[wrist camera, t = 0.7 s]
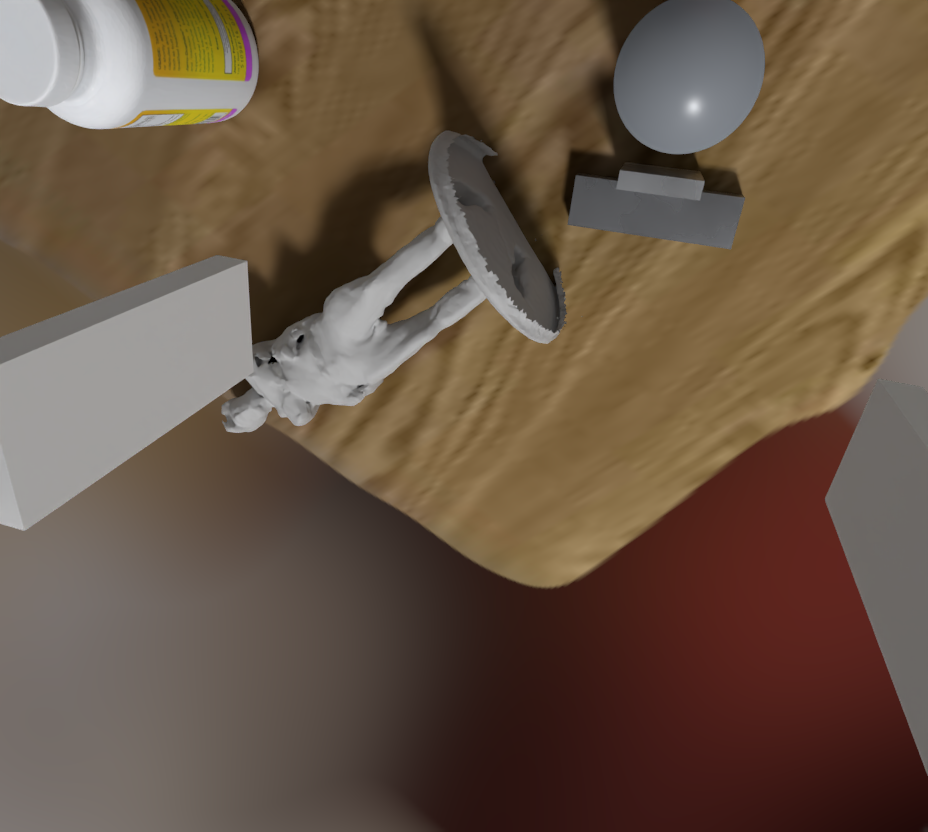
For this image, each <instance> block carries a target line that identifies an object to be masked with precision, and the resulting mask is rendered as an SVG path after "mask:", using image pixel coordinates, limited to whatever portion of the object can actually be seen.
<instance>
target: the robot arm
mask: <svg viewBox="0 0 928 832" xmlns="http://www.w3.org/2000/svg"><path fill="white" fill-rule="evenodd" d="M253 372H254V370H253V353H252V335H251V318H250V300H249V283H248V266H247V261H246V260H240V259H235V258H229V257H224V256H219V255H216V256H214V257H211V258H208V259H206V260H203V261H200V262H198V263H195V264H192V265H190V266H187V267H184V268H182V269H179V270H177V271H174V272H171V273H169V274H166V275H163V276H161V277H158V278H155V279H153V280H150V281H147V282H145V283H142V284H140V285H137V286H134V287H132V288H129V289H126V290H124V291H121V292H118V293H116V294H113V295H111V296H108V297H105V298H103V299H100V300H97V301H95V302H92V303H89V304H87V305H84V306H81V307H79V308H76V309H74V310H71V311H68V312H66V313H63V314H60V315H58V316H55V317H52V318H50V319H47V320H45V321H42V322H39V323H37V324H34V325H31V326H29V327H26V328H23V329H21V330H18V331H16V332H13V333H10V334H7V335H5V336H3V337H0V524H3V525H7V526H10V527H14V528H17V529H20V530H24V531H25V530H27V529H28V528H29V527H31V526H32V525H34V524H35V523H37V522H38V521H39V520H41V519H42V518H44V517H45V516H47V515H48V514H50V513H51V512H52V511H54V510H55V509H57V508H58V507H60V506H61V505H63V504H64V503H65V502H67V501H68V500H70V499H71V498H73V497H74V496H76V495H77V494H78V493H80V492H81V491H83V490H84V489H86V488H87V487H89V486H90V485H91V484H93V483H94V482H96V481H97V480H99V479H100V478H102V477H103V476H104V475H106V474H107V473H109V472H110V471H112V470H113V469H115V468H116V467H117V466H119V465H120V464H122V463H123V462H125V461H126V460H128V459H129V458H130V457H132V456H133V455H135V454H136V453H137V452H139V451H141V450H142V449H143V448H145V447H146V446H148V445H149V444H151V443H152V442H154V441H155V440H156V439H158V438H159V437H161V436H162V435H164V434H165V433H166V432H168V431H169V430H171V429H172V428H174V427H175V426H176V425H178V424H180V423H181V422H182V421H184V420H185V419H187V418H188V417H189V416H191V415H192V414H194V413H195V412H197V411H198V410H200V409H201V408H203V407H204V406H205V405H207V404H208V403H210V402H211V401H213V400H214V399H216V398H217V397H218V396H220V395H221V394H223V393H224V392H226V391H227V390H229V389H230V388H231V387H233V386H234V385H236V384H237V383H239V382H240V381H242V380H243V379H244V378H246V377H247V376H249V375H250V374H252V373H253ZM825 501H826V504H827V507H828V509H829V512H830V515H831V517H832V520H833V523H834V525H835V528H836V531H837V533H838V536H839V539H840V541H841V544H842V547H843V550H844V552H845V555H846V557H847V560H848V563H849V565H850V568H851V571H852V574H853V576H854V579H855V582H856V584H857V587H858V590H859V592H860V595H861V598H862V600H863V603H864V606H865V608H866V611H867V614H868V617H869V619H870V622H871V624H872V627H873V630H874V633H875V635H876V638H877V641H878V643H879V646H880V649H881V651H882V654H883V657H884V659H885V662H886V665H887V668H888V670H889V673H890V676H891V678H892V681H893V683H894V686H895V689H896V692H897V694H898V697H899V700H900V702H901V705H902V708H903V711H904V713H905V716H906V718H907V721H908V724H909V727H910V729H911V732H912V735H913V737H914V740H915V743H916V745H917V748H918V750H919V753H920V756H921V759H922V761H923V764H924V767H925V770H926V772H927V775H928V393H927V391H926V390H925V389H924V388H923V387H920V386H915V385H909V384H904V383H899V382H893V381H888V380H883V379H877V382H876V384H875V386H874V389H873V391H872V393H871V395H870V398H869V400H868V402H867V404H866V407H865V409H864V411H863V414H862V416H861V418H860V421H859V423H858V425H857V427H856V429H855V432H854V434H853V436H852V439H851V441H850V443H849V446H848V448H847V450H846V452H845V454H844V457H843V459H842V461H841V464H840V466H839V468H838V470H837V473H836V475H835V477H834V479H833V482H832V484H831V486H830V489H829V491H828V493H827V496H826V498H825Z"/></svg>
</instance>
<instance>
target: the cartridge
mask: <svg viewBox="0 0 928 832" xmlns="http://www.w3.org/2000/svg"><path fill="white" fill-rule="evenodd" d="M764 69H765V53H764V47H763V42H762V39H761V36H760V33H759V31H758V29H757V27H756V25H755V23H754V21H753V20H752V19H751V17H750V16H749V15H748V14H747V13H746V12H745V11H744V10H743V9H742V8H741V7H740V6H739V5H737V4H736V3H734V2H733V1H731V0H668V1H666V2H664V3H662V4H660V5H659V6H657V7H655V8H654V9H653V10H652V11H650V12H649V13H648V14H647V15H645V16H644V17H643V18H642V19H641V20H640V21H639V22H638V24H637V25H636V26H635V27H634V29H633V30H632V31H631V33H630V34H629V36H628V37H627V39H626V41H625V43H624V45H623V47H622V49H621V51H620V54H619V57H618V60H617V64H616V68H615V74H614V97H615V103H616V106H617V110H618V113H619V115H620V118H621V120H622V121H623V123H624V125H625V127H626V128H627V129H628V130H629V132H630V133H631V134H632V135H633V136H634V137H635V138H636V139H637V140H638V141H640V142H641V143H642V144H644V145H646V146H647V147H649V148H651V149H654V150H657V151H659V152H663V153H669V154H688V153H693V152H698V151H701V150H704V149H707V148H709V147H711V146H713V145H715V144H717V143H718V142H720V141H722V140H723V139H725V138H726V137H727V136H728V135H730V134H731V133H732V132H733V131H734V130H735V129H736V128H737V127H738V126H739V125H740V124H741V123H742V122H743V121H744V119H745V118H746V117H747V115H748V114H749V112H750V111H751V109H752V107H753V106H754V104H755V101H756V99H757V97H758V95H759V92H760V89H761V86H762V82H763V77H764Z"/></svg>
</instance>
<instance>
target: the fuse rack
mask: <svg viewBox="0 0 928 832" xmlns="http://www.w3.org/2000/svg"><path fill="white" fill-rule="evenodd" d="M704 182H705V181H704V178H703V176H702V174H701V172H700V171H693V170H686V169H678V168H670V167H662V166H655V165H647V164H639V163H631V162H625V163H624V165H623V166H622V168H621V169H620V172H619V177H618V178H613V177H606V176H599V175H591V174H584V173H578V174H577V175H576V178H575V184H574V190H573V196H572V202H571V208H570V214H569V220H568V225H573V226H580V227H586V228H593V229H600V230H606V231H613V232H620V233H626V234H633V235H640V236H646V237H653V238H660V239H666V240H673V241H680V242H686V243H693V244H700V245H706V246H713V247H720V248H726V249H731V247H732V243H733V239H734V236H735V232H736V229H737V225H738V222H739V218H740V214H741V211H742V207H743V204H744V200H745V197H744V196H743V195H741V194H733V193H726V192H718V191H711V190H703V186H704Z"/></svg>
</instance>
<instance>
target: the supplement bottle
mask: <svg viewBox="0 0 928 832" xmlns="http://www.w3.org/2000/svg"><path fill="white" fill-rule="evenodd" d="M258 72H259V58H258V51H257V45H256V41H255V38H254V35H253V32H252V30H251V28H250V25H249V24H248V22H247V20H246V18H245V17H244V15H243V13H242V12H241V11H240V9H239V8H238V7H237V6H236V5H235V3H234V2H233V1H231V0H0V98H1V99H3V100H5V101H7V102H9V103H11V104H15V105H20V106H38V107H47V108H48V109H49V110H50V111H52V112H53V113H54V114H56V115H57V116H59V117H60V118H62V119H64V120H66V121H68V122H70V123H72V124H75V125H78V126H81V127H85V128H90V129H115V128H128V127H146V126H164V125H183V124H202V123H213V122H220V121H225V120H227V119H230V118H232V117H234V116H235V115H237V114H238V113H239V112H241V111H242V110H243V109H244V107H245V106H246V105H247V104H248V102H249V101H250V99H251V97H252V95H253V93H254V90H255V87H256V84H257V79H258Z"/></svg>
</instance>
